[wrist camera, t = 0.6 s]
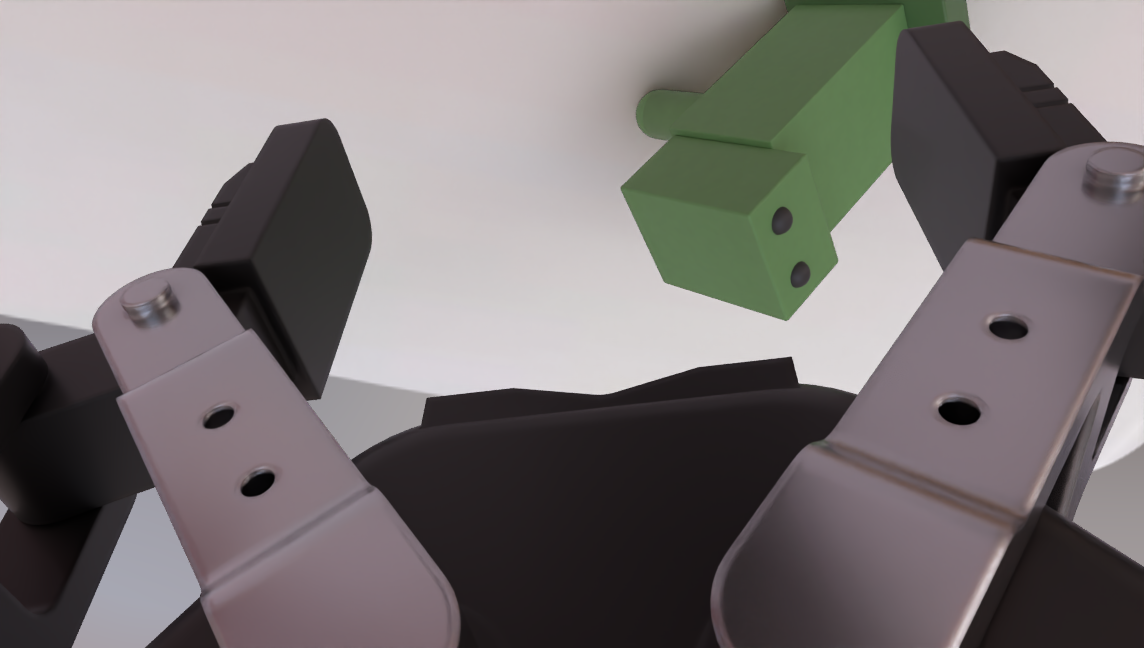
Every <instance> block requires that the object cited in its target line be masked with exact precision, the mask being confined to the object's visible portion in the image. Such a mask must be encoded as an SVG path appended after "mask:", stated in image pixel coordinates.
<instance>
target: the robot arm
mask: <svg viewBox="0 0 1144 648" xmlns="http://www.w3.org/2000/svg"><path fill="white" fill-rule="evenodd" d="M891 157H892V163H893V168H894V172H895V176H896V179H897V181H898V183H899V185H900V187H901V189H902V191H903V193H904V195H905V197H906V199H907V201H908V203H909V205H910V207H911V208H912V210H913V212H914V214H915V216H916V218H917V220H918V222H919V224H920V226H921V228H922V230H923V232H924V234H925V236H926V238H927V240H928V242H929V244H930V246H931V248H932V250H933V252H934V254H935V256H936V258H937V260H938V262H939V264H940V266H941V268H942V270H943V274H942V275H941V277H940V278H939V279H938V281H937V282H936V284H935V285H934V287H933V288H932V289H931V291H930V292H929V294H928V295H927V297H926V298H925V299H924V301H923V302H922V304H921V305H920V307H919V308H918V309H917V311H916V312H915V314H914V315H913V317H912V318H911V319H910V321H909V322H908V324H907V325H906V327H905V328H904V330H903V331H902V332H901V334H900V335H899V337H898V338H897V340H896V341H895V342H894V344H893V345H892V347H891V348H890V350H889V351H888V352H887V354H886V355H885V357H884V358H883V360H882V361H881V362H880V364H879V365H878V367H877V368H876V370H875V371H874V372H873V374H872V375H871V377H870V378H869V380H868V381H867V382H866V384H865V385H864V387H863V388H862V390H861V391H860V392H859V394H858V395H857V394H853V393H850V392H846V391H842V390H838V389H835V388H829V387H823V386H817V385H809V384H799V383H798V379H797V375H796V371H795V368H794V364H793V360H792V357H785V358H777V359H768V360H759V361H750V362H741V363H732V364H723V365H714V366H706V367H698V368H695V369H691V370H688V371H685V372H681V373H678V374H675V375H671V376H668V377H665V378H661V379H658V380H655V381H651V382H648V383H645V384H642V385H638V386H635V387H632V388H628V389H625V390H622V391H618V392H615V393H611V394H605V395H591V394H579V393H566V392H554V391H541V390H529V389H517V388H510V389H501V390H492V391H484V392H475V393H466V394H457V395H448V396H439V397H430V398H427V399H426V404H425V409H424V414H423V419H422V424H421V425H420V426H417V427H414V428H411V429H409V430H406V431H404V432H401V433H399V434H396V435H394V436H391V437H389V438H388V439H386V440H384V441H382V442H380V443H378V444H376V445H374V446H372V447H370V448H369V449H367V450H366V451H364V452H362V453H361V454H359V455H358V456H356V457H355V458H353V459H352V460H351V459H350V458H349V457H348V456H347V454H346V453H345V451H344V450H343V449H342V448H341V446H340V445H339V443H338V442H337V441H336V440H335V438H334V437H333V435H332V434H331V433H330V431H329V430H328V429H327V427H326V426H325V425H324V424H323V422H322V421H321V419H320V418H319V417H318V416H317V414H316V413H315V411H314V410H313V409H312V407H311V406H310V405H309V403H308V402H307V401H308V400H317V399H321V396H322V393H323V390H324V387H325V384H326V381H327V378H328V375H329V372H330V369H331V366H332V363H333V360H334V358H335V355H336V352H337V349H338V346H339V343H340V340H341V337H342V334H343V331H344V328H345V325H346V322H347V319H348V316H349V313H350V310H351V307H352V304H353V301H354V298H355V295H356V292H357V289H358V286H359V283H360V280H361V277H362V274H363V271H364V268H365V265H366V262H367V259H368V256H369V253H370V250H371V244H372V231H371V223H370V218H369V214H368V210H367V208H366V205H365V202H364V200H363V197H362V194H361V192H360V189H359V186H358V184H357V181H356V178H355V176H354V173H353V171H352V168H351V165H350V163H349V160H348V157H347V155H346V152H345V149H344V147H343V144H342V142H341V139H340V136H339V134H338V132H337V130H336V128H335V126H334V125H333V123H332V122H331V121H330V120H328V119H326V118H324V119H318V120H311V121H305V122H298V123H292V124H285V125H279V126H276V127H275V128H274V129H273V131H272V132H271V134H270V136H269V137H268V139H267V141H266V143H265V144H264V146H263V148H262V149H261V151H260V153H259V154H258V156H257V158H256V160H255V161H254V163H249V164H247V165H246V166H245V167H244V168H243V169H241V170H240V171H239V172H238V173H237V174H235V175H234V176H233V177H232V178H231V179H229V180H228V181H227V182H226V183H225V184H224V185H223V186H222V188H221V190H220V191H219V193H218V195H217V196H216V198H215V199H214V201H213V203H212V204H211V205H212V208H211V209H208V211H207V212H206V214H205V216H204V217H203V219H202V221H201V224H202V226H198V227H197V229H196V230H195V232H194V234H193V235H192V237H191V238H190V240H189V242H188V243H187V245H186V247H185V248H184V250H183V251H182V253H181V255H180V256H179V258H178V260H177V261H176V263H175V264H174V266H173V268H171V269H165V270H161V271H157V272H154V273H151V274H148V275H145V276H143V277H140V278H138V279H136V280H134V281H132V282H130V283H128V284H127V285H125V286H123V287H122V288H120V289H119V290H117V291H116V292H115V293H113V294H112V295H111V296H110V297H109V298H108V299H106V300H105V301H104V302H103V304H102V305H101V306H100V307H99V308H98V310H97V312H96V313H95V315H94V318H93V321H92V328H93V331H94V333H93V334H91V335H87V336H84V337H81V338H79V339H75V340H72V341H69V342H66V343H63V344H60V345H57V346H54V347H51V348H48V349H45V350H42V351H39V352H38V351H37V349H36V348H35V347H34V346H33V344H32V343H31V342H30V340H29V339H28V338H27V336H26V335H25V334H24V332H23V331H22V330H21V329H20V328H19V327H17V326H15V325H11V324H0V500H1V501H2V502H3V503H4V504H5V505H6V506H7V507H8V508H9V509H8V510H7V513H6V514H5V516H4V518H3V519H2V521H1V523H0V648H72V645H73V643H74V641H75V639H76V636H77V634H78V632H79V629H80V627H81V625H82V622H83V620H84V618H85V615H86V613H87V611H88V608H89V606H90V604H91V602H92V599H93V597H94V595H95V592H96V590H97V588H98V585H99V583H100V581H101V578H102V576H103V574H104V571H105V569H106V567H107V564H108V562H109V560H110V557H111V555H112V553H113V551H114V548H115V546H116V544H117V541H118V539H119V537H120V535H121V532H122V530H123V528H124V525H125V523H126V521H127V518H128V516H129V514H130V511H131V509H132V507H133V504H134V502H135V499H136V496H137V493H140V492H143V491H145V490H148V489H151V488H154V487H156V490H157V492H158V494H159V496H160V498H161V501H162V503H163V505H164V507H165V509H166V512H167V514H168V516H169V518H170V520H171V523H172V525H173V527H174V529H175V531H176V534H177V536H178V538H179V540H180V542H181V545H182V547H183V549H184V551H185V554H186V556H187V558H188V560H189V562H190V565H191V567H192V569H193V571H194V573H195V576H196V578H197V580H198V582H199V585H200V588H201V592H202V593H201V595H200V597H199V598H198V599H197V600H196V601H195V602H194V603H193V604H192V605H191V606H190V607H189V608H188V609H186V610H185V611H184V612H183V613H182V614H181V615H180V616H179V617H178V618H177V619H176V620H175V621H173V622H172V623H171V624H170V625H169V626H168V627H167V628H166V629H165V630H164V631H163V632H162V633H160V634H159V635H158V636H157V637H156V638H155V639H154V640H153V641H152V642H151V643H150V644H149V645H148V646H146V647H145V648H1144V567H1143V566H1142V565H1140V564H1139V563H1137V562H1135V561H1134V560H1132V559H1131V558H1129V557H1127V556H1126V555H1124V554H1123V553H1121V552H1120V551H1118V550H1116V549H1115V548H1113V547H1111V546H1110V545H1108V544H1107V543H1105V542H1104V541H1102V540H1101V539H1099V538H1098V537H1096V536H1094V535H1093V534H1091V533H1090V532H1088V531H1087V530H1085V529H1083V528H1082V527H1080V526H1079V525H1077V524H1075V523H1074V522H1072V521H1073V518H1074V515H1075V512H1076V510H1077V507H1078V504H1079V502H1080V499H1081V497H1082V494H1083V491H1084V489H1085V487H1086V484H1087V482H1088V480H1089V478H1090V475H1091V473H1092V471H1093V469H1094V466H1095V464H1096V462H1097V459H1098V457H1099V455H1100V453H1101V450H1102V448H1103V446H1104V444H1105V441H1106V439H1107V437H1108V434H1109V432H1110V430H1111V428H1112V425H1113V423H1114V421H1115V419H1116V416H1117V414H1118V412H1119V409H1120V407H1121V405H1122V403H1123V400H1124V398H1125V396H1126V394H1127V391H1128V389H1129V387H1130V384H1131V381H1132V378H1138V379H1144V146H1142V145H1137V144H1131V143H1123V142H1107V141H1106V140H1105V139H1104V138H1103V137H1102V135H1101V134H1100V133H1099V132H1098V131H1097V130H1096V129H1095V128H1094V127H1093V126H1092V125H1091V123H1090V122H1089V121H1088V120H1087V119H1086V118H1085V117H1084V116H1083V115H1082V114H1081V113H1080V112H1079V110H1078V109H1077V108H1076V107H1075V106H1074V105H1073V104H1072V103H1069V104H1068V98H1067V97H1066V96H1065V95H1064V94H1063V93H1062V92H1061V91H1060V90H1059V89H1058V88H1057V87H1056V88H1054V83H1053V82H1052V81H1051V80H1050V79H1049V78H1048V77H1047V76H1046V75H1045V73H1044V72H1043V71H1042V70H1041V69H1040V68H1039V67H1038V66H1037V65H1036V64H1034V63H1032V62H1029V61H1027V60H1025V59H1022V58H1020V57H1018V56H1016V55H1013V54H1011V53H1009V52H1007V51H999V52H992V53H989V52H988V51H987V49H986V48H985V47H984V46H983V45H982V43H981V42H980V41H979V40H978V39H977V38H976V36H975V35H974V34H973V33H972V32H971V30H970V29H969V28H968V27H967V26H966V24H965V23H964V22H963V21H954V22H947V23H941V24H934V25H928V26H921V27H915V28H909V29H903V30H902V31H901V32H900V34H899V37H898V41H897V47H896V58H895V74H894V90H893V105H892V121H891Z"/></svg>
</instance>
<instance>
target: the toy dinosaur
mask: <svg viewBox="0 0 1144 648" xmlns="http://www.w3.org/2000/svg"><path fill="white" fill-rule="evenodd" d="M784 1H785V5H786V8H787V12H788V13H787V14H786V15H785V16H784V17H783V18H782V19H781V20H780V21H779V22H778V23H777V24H776V25H775V26H774V27H773V28H772V29H771V30H770V31H769V32H768V33H767V34H766V35H764V36H763V37H762V38H761V39H760V40H759V41H758V42H757V43H756V44H755V45H754V46H753V47H752V48H751V49H750V50H749V51H748V52H747V53H746V54H745V55H744V56H743V57H742V58H741V59H739V60H738V61H737V62H736V63H735V64H734V65H733V66H732V67H731V68H730V69H729V70H728V71H727V72H726V73H725V74H724V75H723V76H722V77H721V78H720V79H719V80H718V81H717V82H715V83H714V84H713V85H712V86H711V87H710V88H709V89H708V90H707V91H706V92H705V93H695V92H684V91H673V90H654V91H651V92H649V93H648V94H646V95H645V96H644V97H643V98H642V99H641V100H640V102H639V104H638V106H637V109H636V120H637V123H638V126H639V128H640V129H641V130H642V131H643V133H645V134H646V135H647V136H649V137H652V138H655V139H661V140H668V142H667V143H666V144H665V145H664V146H663V147H662V148H661V149H660V150H659V151H658V152H656V153H655V154H654V155H653V156H652V157H651V158H650V159H649V160H648V161H647V162H646V163H645V164H644V165H643V166H642V167H641V168H640V169H639V170H638V171H637V172H636V173H635V174H634V175H633V176H632V177H631V178H630V179H629V180H628V181H627V182H625V183H624V184H623V185H622V186H621V191H622V193H623V195H624V198H625V200H626V202H627V204H628V206H629V208H630V210H631V212H632V215H633V217H634V219H635V221H636V223H637V225H638V227H639V230H640V232H641V234H642V236H643V238H644V240H645V242H646V244H647V247H648V249H649V251H650V253H651V255H652V257H653V259H654V262H655V264H656V266H657V268H658V270H659V272H660V274H661V276H662V279H663V281H664V282H665V283H667V284H671V285H674V286H677V287H680V288H683V289H686V290H690V291H693V292H696V293H699V294H702V295H705V296H709V297H712V298H715V299H718V300H721V301H724V302H728V303H731V304H734V305H737V306H740V307H743V308H747V309H750V310H753V311H756V312H759V313H763V314H766V315H769V316H772V317H775V318H778V319H782V320H785V321H787V320H789V319H790V317H791V316H792V315H793V314H794V313H795V312H796V310H797V309H798V308H799V307H800V306H801V305H802V304H803V302H804V301H805V300H806V299H807V298H808V297H809V295H810V294H811V293H812V292H813V291H814V290H815V288H816V287H817V286H818V285H819V284H820V283H821V281H822V280H823V279H824V278H825V277H826V276H827V274H828V273H829V272H830V271H831V270H832V269H833V267H834V266H835V265H836V264H837V263H838V258H837V254H836V251H835V248H834V244H833V241H832V238H831V234H830V232H831V231H832V230H833V228H834V227H835V226H836V225H837V224H838V223H839V222H840V221H841V219H842V218H843V217H844V216H845V215H846V214H847V213H848V211H849V210H850V209H851V208H852V207H853V206H854V205H855V203H856V202H857V201H858V200H859V199H860V198H861V197H862V196H863V194H864V193H865V192H866V191H867V190H868V189H869V188H870V186H871V185H872V184H873V183H874V182H875V181H876V180H877V178H878V177H879V176H880V175H881V174H882V173H883V172H884V170H885V169H886V168H887V167H888V166H889V165H890V164H891V163H892V157H891V121H892V105H893V90H894V74H895V58H896V47H897V41H898V37H899V34H900V32H901V31H902V30H903V29H909V28H915V27H921V26H928V25H934V24H941V23H947V22H954V21H963V22H964V23H965V24H966V26H967V27H968V28H969V29H970V24H969V17H968V10H967V3H966V0H784Z"/></svg>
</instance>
